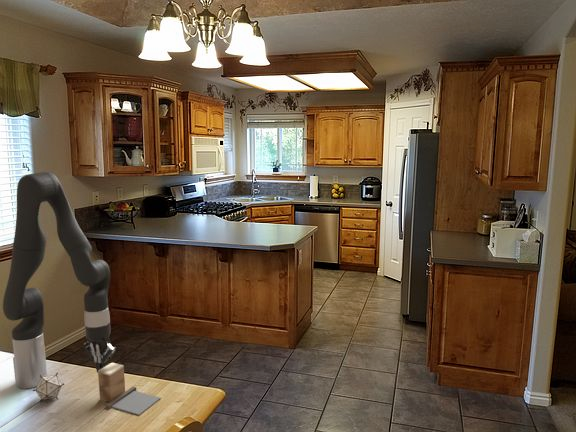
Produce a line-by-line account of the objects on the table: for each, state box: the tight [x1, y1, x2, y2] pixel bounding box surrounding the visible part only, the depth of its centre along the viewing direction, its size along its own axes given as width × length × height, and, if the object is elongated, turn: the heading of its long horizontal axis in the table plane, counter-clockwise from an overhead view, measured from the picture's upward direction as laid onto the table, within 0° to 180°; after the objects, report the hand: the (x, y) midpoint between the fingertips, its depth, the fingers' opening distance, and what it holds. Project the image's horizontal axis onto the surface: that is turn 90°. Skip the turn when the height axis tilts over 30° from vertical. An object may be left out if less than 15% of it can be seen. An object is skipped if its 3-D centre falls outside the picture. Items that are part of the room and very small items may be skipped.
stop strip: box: [105, 386, 137, 410], centre depth 145 cm, size 2×12×1 cm, turn 157°
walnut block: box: [97, 362, 126, 403], centre depth 146 cm, size 5×6×10 cm
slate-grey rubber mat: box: [111, 390, 162, 416], centre depth 142 cm, size 11×10×1 cm
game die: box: [32, 372, 65, 403], centre depth 145 cm, size 9×8×10 cm
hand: (101, 371), depth 147 cm, fingers closed
